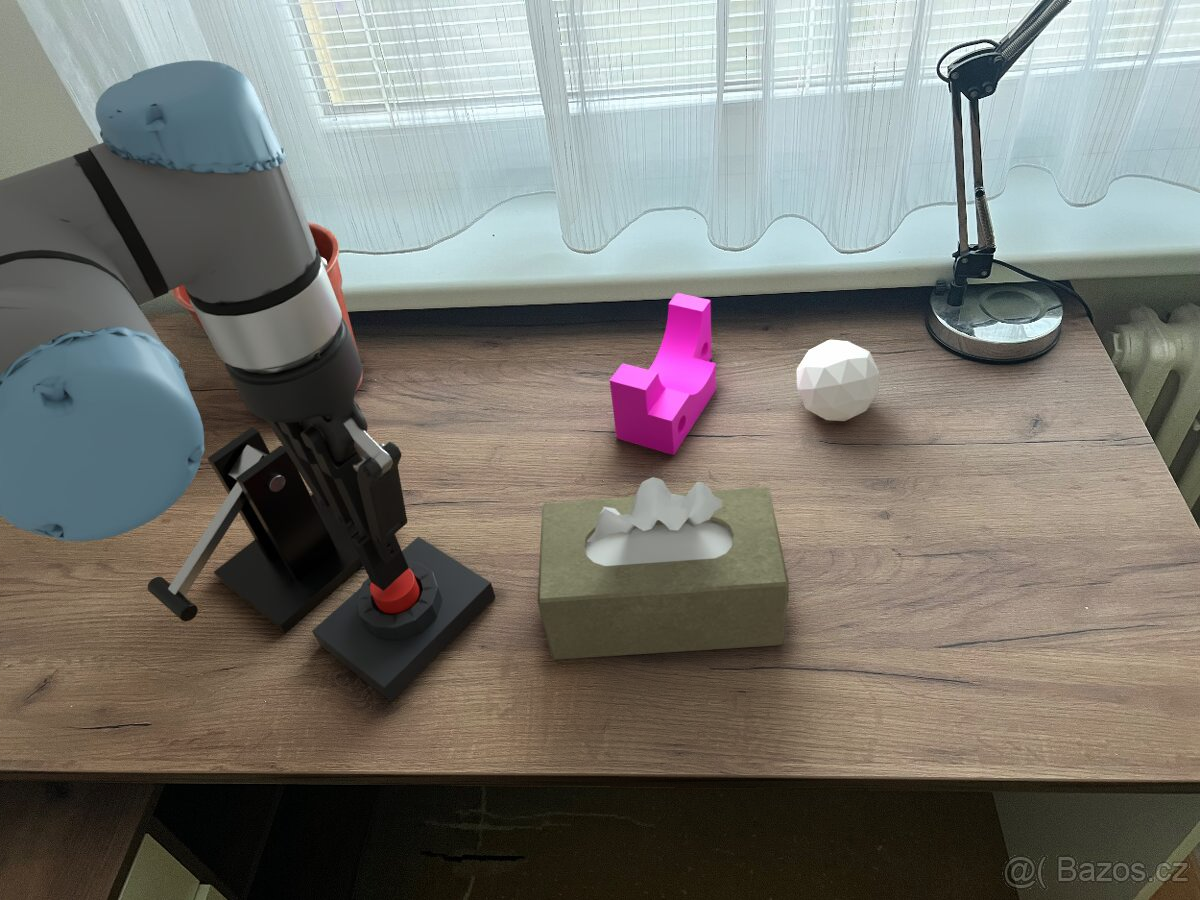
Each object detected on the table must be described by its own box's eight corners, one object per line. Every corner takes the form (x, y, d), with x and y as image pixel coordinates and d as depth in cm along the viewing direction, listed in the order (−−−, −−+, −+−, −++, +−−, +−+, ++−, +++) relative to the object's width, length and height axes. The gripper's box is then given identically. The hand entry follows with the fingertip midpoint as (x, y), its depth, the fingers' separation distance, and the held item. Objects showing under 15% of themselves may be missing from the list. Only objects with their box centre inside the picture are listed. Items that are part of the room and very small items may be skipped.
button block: (391, 702, 68) (377, 675, 65) (320, 645, 73) (303, 618, 70) (496, 597, 74) (487, 569, 72) (424, 551, 79) (413, 522, 76)
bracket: (285, 633, 74) (219, 528, 64) (218, 580, 79) (148, 474, 69) (390, 541, 80) (344, 433, 70) (322, 497, 85) (271, 390, 75)
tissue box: (548, 661, 69) (515, 533, 58) (552, 563, 76) (522, 432, 65) (787, 646, 68) (799, 512, 57) (769, 548, 75) (776, 412, 64)
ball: (814, 419, 90) (800, 343, 89) (894, 408, 86) (880, 327, 85) (793, 434, 83) (777, 352, 82) (878, 422, 79) (863, 335, 78)
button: (396, 621, 69) (390, 608, 68) (366, 600, 71) (360, 587, 70) (428, 590, 71) (423, 577, 70) (399, 571, 73) (393, 557, 72)
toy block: (673, 455, 84) (670, 396, 79) (616, 438, 87) (609, 380, 82) (733, 363, 93) (733, 305, 88) (679, 350, 96) (677, 293, 90)
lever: (196, 624, 69) (172, 618, 67) (162, 595, 72) (138, 588, 70) (293, 471, 71) (273, 461, 69) (257, 448, 74) (237, 437, 71)
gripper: (401, 338, 51) (481, 580, 68) (270, 275, 58) (372, 510, 74) (300, 411, 47) (410, 649, 64) (171, 336, 54) (302, 569, 70)
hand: (390, 574), depth 69 cm, fingers closed
